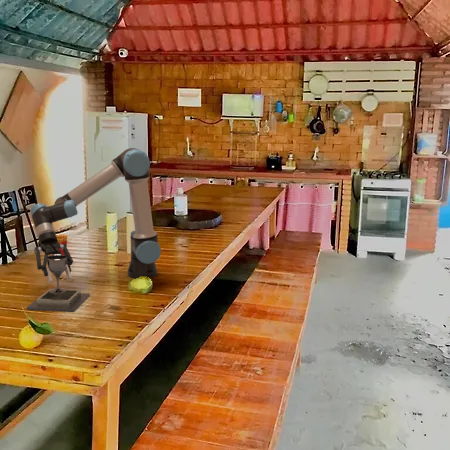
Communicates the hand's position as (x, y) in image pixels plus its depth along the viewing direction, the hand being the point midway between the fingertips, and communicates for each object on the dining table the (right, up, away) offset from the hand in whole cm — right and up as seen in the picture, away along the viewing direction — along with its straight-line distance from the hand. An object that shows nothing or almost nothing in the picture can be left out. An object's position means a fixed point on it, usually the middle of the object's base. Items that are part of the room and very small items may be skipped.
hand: (60, 280), depth 217 cm
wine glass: (-2, -5, +4) cm, 7 cm away
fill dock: (-2, -10, +5) cm, 11 cm away
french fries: (-24, +5, +75) cm, 79 cm away
